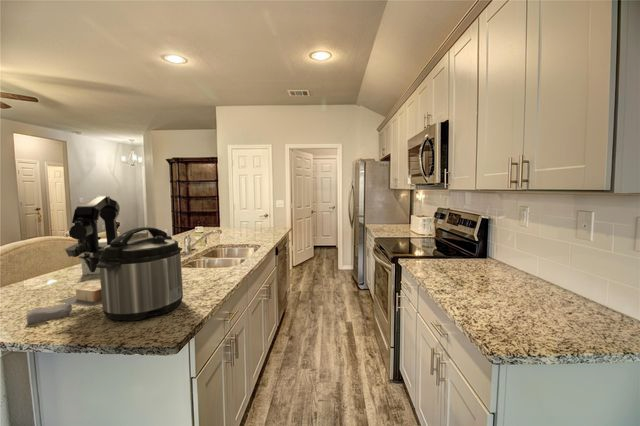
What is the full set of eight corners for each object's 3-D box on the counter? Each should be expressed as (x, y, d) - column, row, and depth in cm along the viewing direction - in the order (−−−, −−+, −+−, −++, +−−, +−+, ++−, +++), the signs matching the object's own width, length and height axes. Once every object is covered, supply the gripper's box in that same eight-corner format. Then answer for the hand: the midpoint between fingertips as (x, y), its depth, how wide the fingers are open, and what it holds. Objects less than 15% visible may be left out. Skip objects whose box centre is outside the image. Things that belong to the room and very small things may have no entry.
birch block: (90, 284, 133) (108, 286, 130) (91, 294, 134) (109, 296, 130) (75, 288, 128) (94, 291, 124) (76, 299, 128) (95, 302, 125)
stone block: (34, 320, 114) (24, 325, 106) (34, 307, 115) (25, 311, 106) (74, 314, 120) (68, 318, 111) (74, 302, 121) (68, 305, 112)
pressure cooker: (173, 289, 140) (169, 221, 137) (198, 307, 119) (193, 227, 116) (92, 308, 119) (85, 228, 116) (105, 333, 99) (97, 237, 96)
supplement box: (81, 275, 165) (78, 243, 164) (89, 269, 177) (87, 239, 176) (110, 272, 170) (108, 241, 168) (116, 266, 182) (114, 237, 181)
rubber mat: (92, 291, 139) (91, 290, 139) (121, 295, 134) (121, 294, 134) (57, 302, 126) (57, 301, 126) (88, 307, 120) (88, 306, 120)
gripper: (52, 237, 122) (56, 275, 124) (85, 240, 116) (88, 279, 118) (81, 233, 133) (84, 268, 134) (113, 235, 127) (116, 271, 128)
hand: (92, 272), depth 128 cm, fingers closed
